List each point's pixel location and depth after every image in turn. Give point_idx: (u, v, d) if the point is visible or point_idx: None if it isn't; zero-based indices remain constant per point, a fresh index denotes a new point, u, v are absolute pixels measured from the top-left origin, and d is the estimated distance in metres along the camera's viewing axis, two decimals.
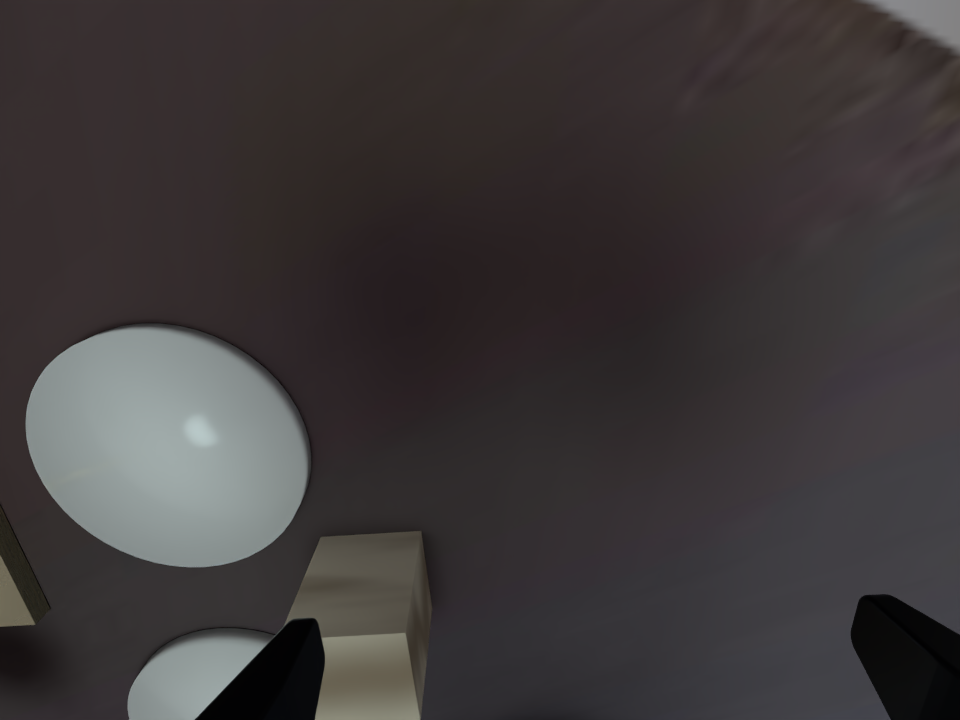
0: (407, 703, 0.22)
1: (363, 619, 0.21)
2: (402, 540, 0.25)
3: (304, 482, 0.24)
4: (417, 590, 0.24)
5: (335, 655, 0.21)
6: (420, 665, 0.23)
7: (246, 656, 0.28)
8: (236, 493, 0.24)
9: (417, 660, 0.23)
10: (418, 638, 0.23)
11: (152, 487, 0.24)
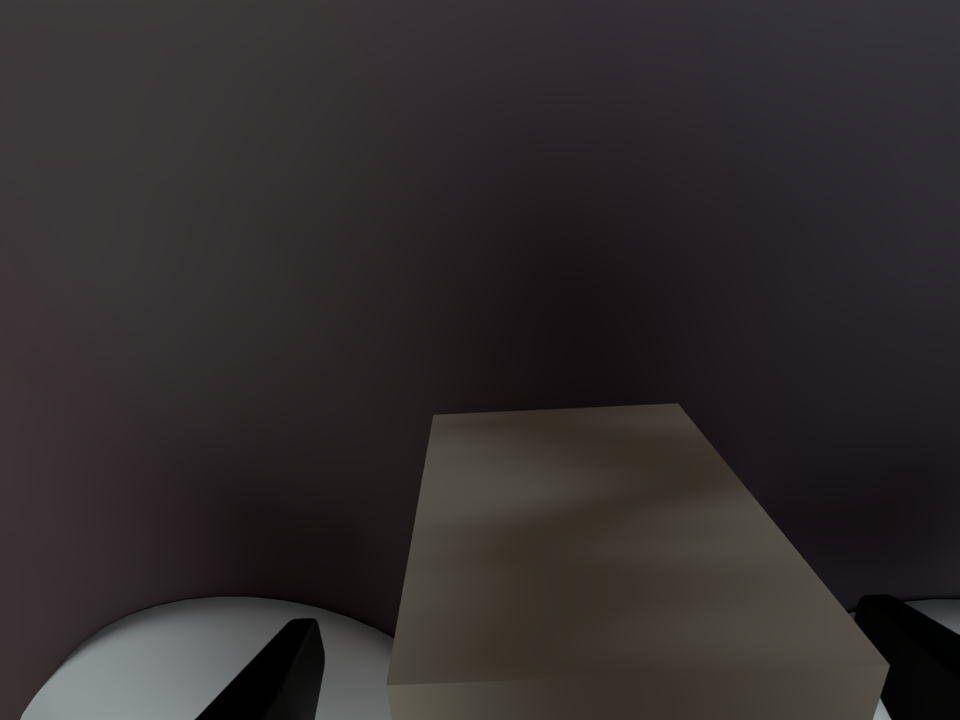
0: (775, 698, 0.05)
1: None
2: None
3: (275, 634, 0.12)
4: (485, 493, 0.08)
5: None
6: (693, 561, 0.07)
7: None
8: None
9: (642, 585, 0.06)
10: (598, 542, 0.07)
11: None
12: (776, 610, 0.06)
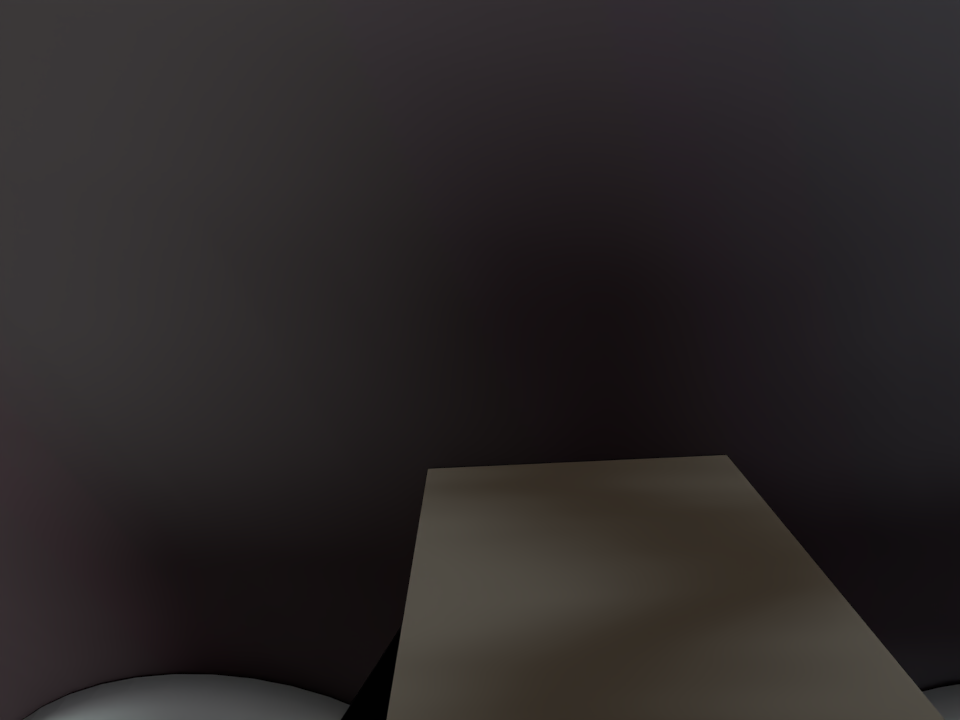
0: None
1: None
2: None
3: None
4: (492, 596, 0.06)
5: None
6: None
7: None
8: None
9: None
10: (652, 689, 0.05)
11: None
12: None
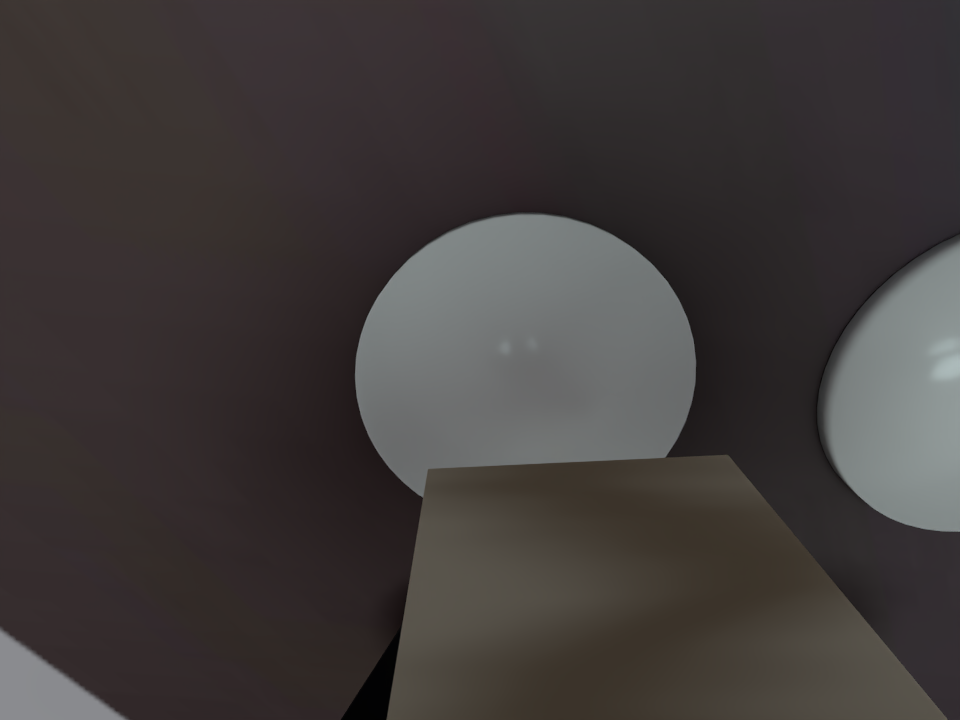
0: None
1: None
2: None
3: (572, 220, 0.17)
4: (493, 597, 0.06)
5: None
6: None
7: (874, 355, 0.18)
8: (581, 316, 0.18)
9: None
10: (654, 691, 0.05)
11: (563, 416, 0.19)
12: None
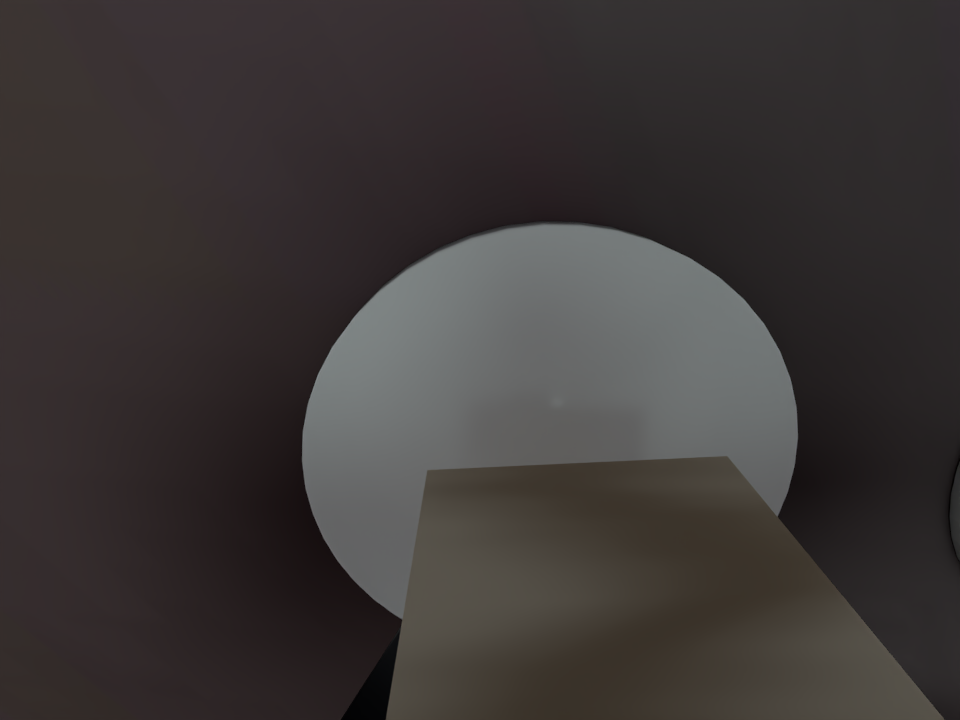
0: None
1: None
2: None
3: (626, 234, 0.11)
4: (492, 599, 0.06)
5: None
6: None
7: None
8: (634, 374, 0.12)
9: None
10: (653, 693, 0.05)
11: None
12: None
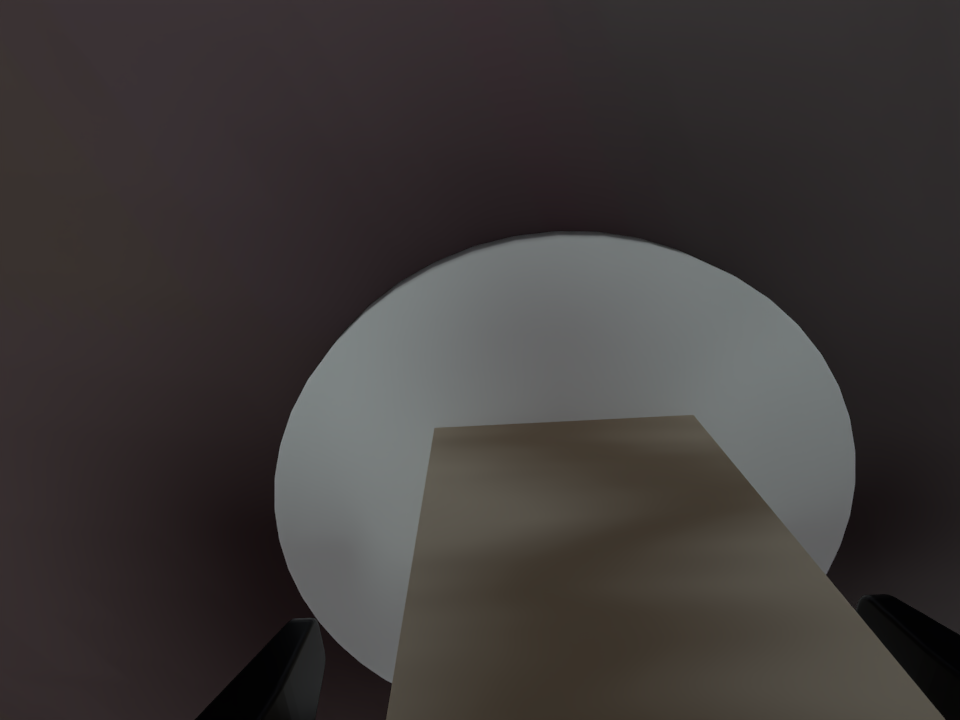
0: None
1: None
2: None
3: (658, 248, 0.09)
4: (490, 518, 0.08)
5: None
6: (722, 600, 0.06)
7: None
8: (665, 412, 0.10)
9: (667, 629, 0.06)
10: (615, 576, 0.06)
11: None
12: (819, 660, 0.05)
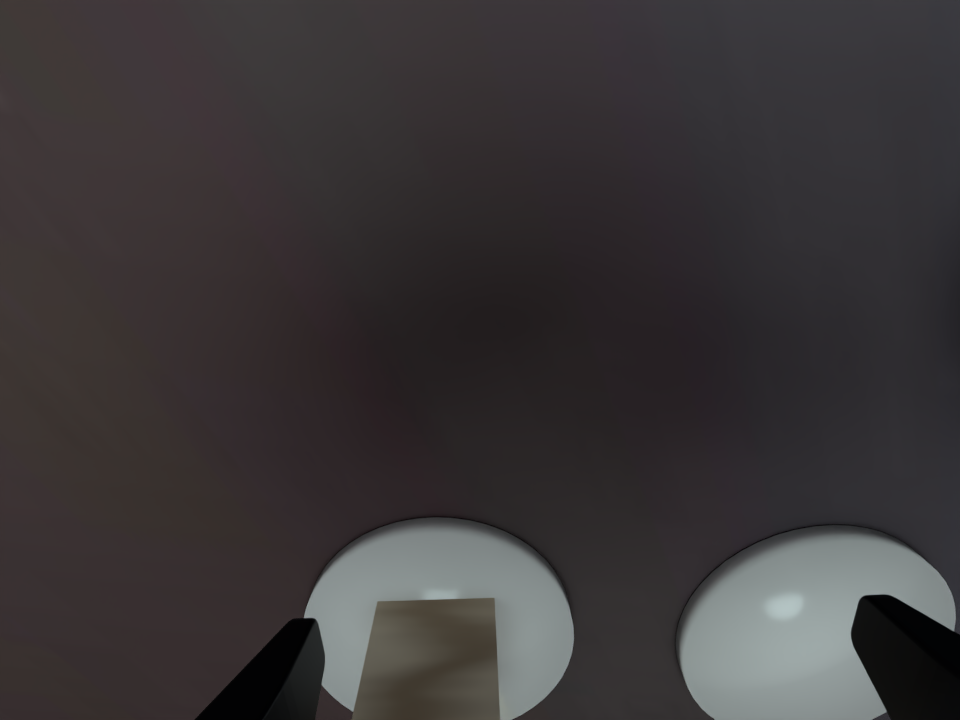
0: None
1: None
2: None
3: (472, 535, 0.21)
4: (392, 659, 0.20)
5: None
6: (460, 699, 0.18)
7: (710, 623, 0.23)
8: (481, 596, 0.23)
9: (438, 709, 0.18)
10: (429, 688, 0.19)
11: None
12: None
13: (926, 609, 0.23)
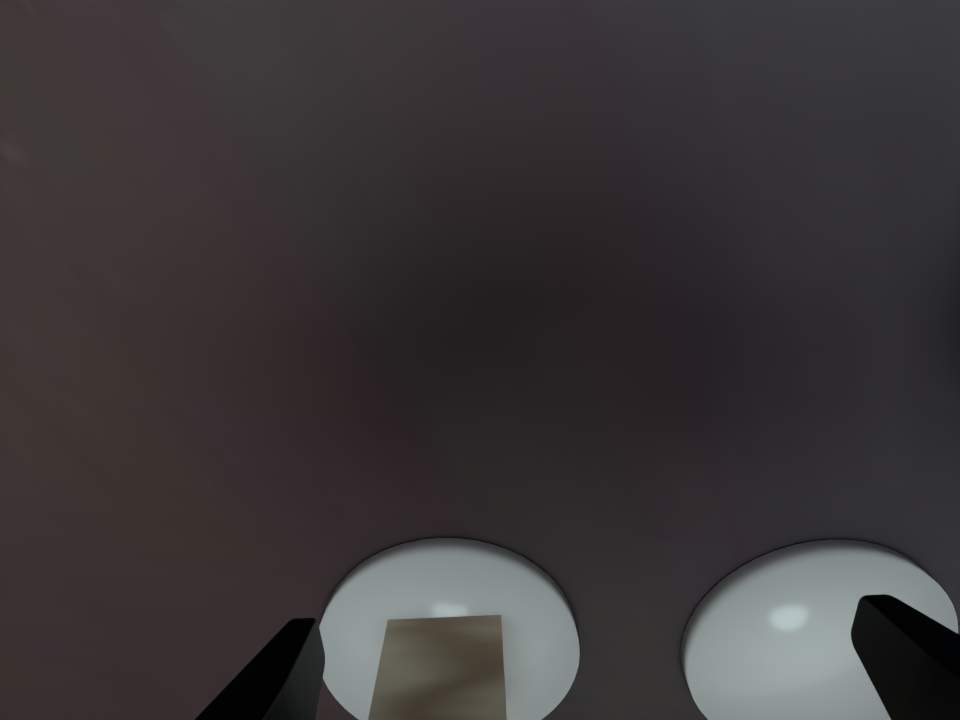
0: None
1: None
2: None
3: (477, 555, 0.22)
4: (402, 677, 0.21)
5: None
6: (468, 716, 0.19)
7: (713, 637, 0.24)
8: (488, 613, 0.23)
9: None
10: (438, 706, 0.19)
11: None
12: None
13: None
